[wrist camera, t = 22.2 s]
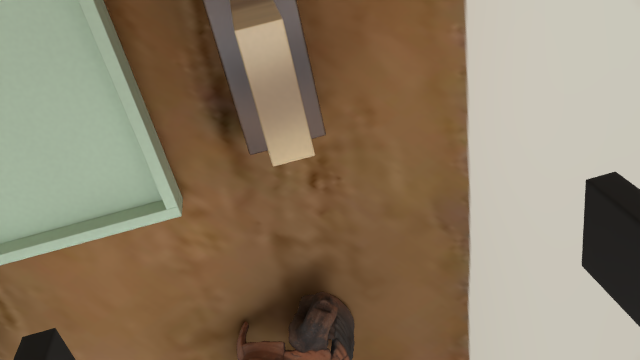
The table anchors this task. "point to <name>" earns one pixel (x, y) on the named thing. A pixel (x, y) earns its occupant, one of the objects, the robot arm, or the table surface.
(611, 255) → the robot arm
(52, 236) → the tray
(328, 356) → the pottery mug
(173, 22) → the table surface
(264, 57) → the chalkboard eraser
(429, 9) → the table surface
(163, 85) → the table surface
